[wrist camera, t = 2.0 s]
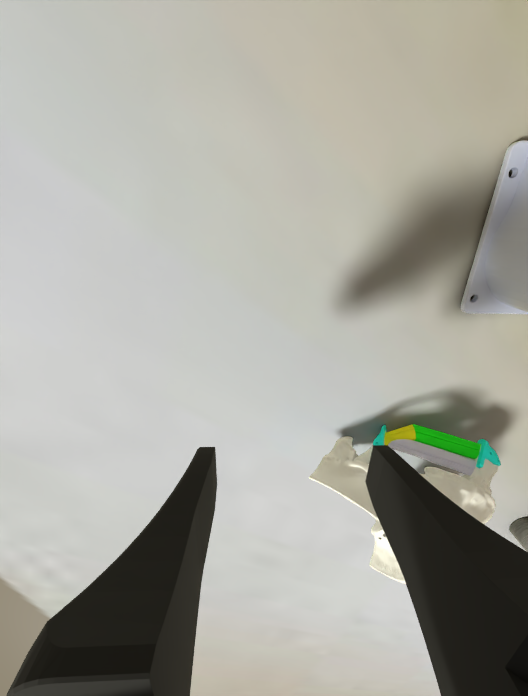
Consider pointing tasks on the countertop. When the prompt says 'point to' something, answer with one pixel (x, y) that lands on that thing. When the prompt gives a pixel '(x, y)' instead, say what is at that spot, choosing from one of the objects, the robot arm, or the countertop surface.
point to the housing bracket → (520, 531)
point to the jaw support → (434, 446)
